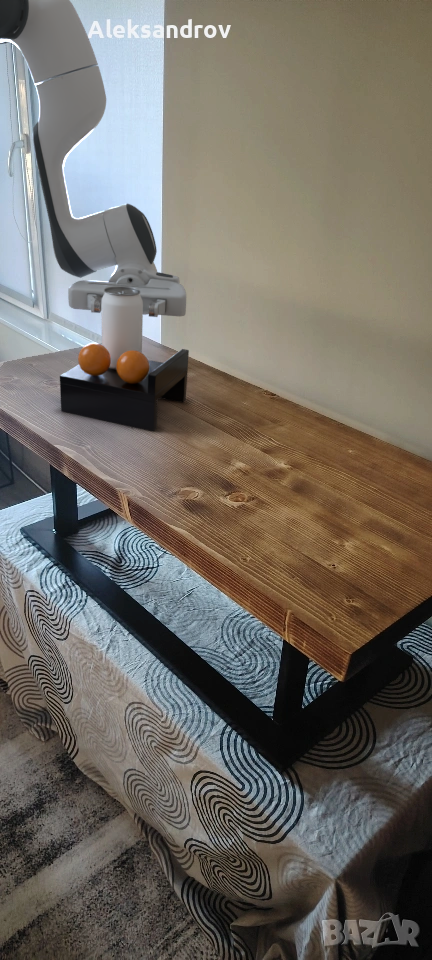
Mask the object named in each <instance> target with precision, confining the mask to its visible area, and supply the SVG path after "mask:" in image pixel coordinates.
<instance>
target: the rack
mask: <svg viewBox="0 0 432 960" xmlns="http://www.w3.org/2000/svg"><path fill="white" fill-rule="evenodd" d="M189 354H190V351H189V349H185V348H182V349H180V350H179V351H178V352H176V353H175V354H173V355H172V356H171V357H170V358H168V359H167V360H166V361H164V362H161V361H157V360H151V359H148V358H147V356H145V355H146V354H144V353H143V352H142V353H141V352H139V351H135V350H130V351H126V352H124V353H123V354H122V355H121V356H120V357H119V359H118V361H117V365H116V368H117V370H114V369H110V368H109V367H110V364H111V356H110V353H109V351H108V350H107V349H106V348H105V347H104V346H102V343H97V342H91V343H87V344H86V345H84V346H83V347H82V348H81V349H80V351H79V352H78V355H77V356H78V357H77V362H78V364H76V365H75V366H74V367H72V368H70V369H69V370H67V371H65V372H63V373H62V374H60V375H59V391H60V392H59V393H60V395H59V396H60V411H61V412H64V413H68V414H72V415H78V416H81V417H85V418H90V419H95V420H100V421H104V422H108V423H114V424H117V425H123V426H128V427H132V428H135V429H140V430H146V431H150V432H155V431H156V430H157V427H158V400H159V399H162V400H167V401H173V402H178V403H181V404H182V403H185V402H186V401H187V388H188V387H187V385H188V370H189V356H190V355H189Z"/></svg>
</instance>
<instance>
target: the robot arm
mask: <svg viewBox="0 0 432 960" xmlns="http://www.w3.org/2000/svg"><path fill="white" fill-rule="evenodd" d="M8 43H12V44H13V45H14V46H16V47H17V48H18V50H19V51H20V53H21V55H22V56H23V58H24V60H25V62H26V65H27V68H28V69H29V72H30V76H31V79H32V82H33V83H34V87H35V88H36V93H37V97H38V104H39V114H38V120H37V122H36V123H35V124H34V125H33V128H32V144H33V150H34V151H33V152H34V156H35V162H36V167H37V171H38V176H39V182H40V185H41V190H42V194H43V200H44V204H45V209H46V213H47V217H48V222H49V228H50V234H51V241H52V249H53V255H54V258H55V260H56V262H57V264H58V267H59V268H60V269H61V270H62V271H64V272H65V273H67V274H69V275H70V276H73V277H76V278H80V279H81V278H82V280H78V281H75V282H74V283H72V284H71V285H70V286H69V287H68V291H67V297H68V298H67V299H68V300H67V301H68V306H69V308H71V309H74V310H85V311H90V313H92V314H93V313H94V314H101V303H102V297H103V295H104V293H105V292H104V289H105V288H108V287H115V286H123V287H131V288H135V289H138V290H140V296H141V298H142V301H143V316H147V315H148V317H150V318H158V316H167V317H185V316H186V312H187V292H186V289H185V286H184V285H183V284H182V283H181V282H180V281H181V280H180V277H179V276H177V275H173V274H169V273H163V272H159V271H158V269H157V267H156V263H155V260H156V257H157V252H158V251H157V243H156V240H155V236H154V232H153V229H152V227H151V225H150V222H149V219H148V218H147V216H146V215H145V214H144V213H143V212H142V210H140V209H139V208H137V207H136V206H135V205H132V204H131V203H128V202H126V203H123V204H120V205H117V206H114V207H110V208H106V209H104V210H102V211H99V212H95V213H93V214H89V215H86V216H82V217H79V218H78V217H75V216H73V213H72V208H71V203H70V198H69V194H68V188H67V184H66V183H67V182H66V178H65V171H64V170H65V169H64V167H65V163H66V160H67V158H68V156H69V155H70V153H71V152H72V151H73V150H74V149H75V148H76V147H77V146H78V145H79V144H80V143H81V142H82V141H84V140H85V139H86V138H87V137H88V136H89V135H90V134H91V133H93V131H94V130H95V129H96V128H97V127H98V126H99V124H100V122H101V121H102V119H103V117H104V114H105V112H106V106H107V95H106V90H105V89H106V88H105V85H104V80H103V77H102V73H101V70H100V67H99V63H98V60H97V58H96V57H97V56H96V55H95V51H94V49H93V47H92V43H91V41H90V39H89V36H88V33H87V31H86V28H85V27H84V25H83V23H82V21H81V18H80V16H79V14H78V12H77V10H76V8H75V5H74V4H73V3H72V2H71V0H0V45H4V44H8ZM113 266H115V269H114V271H113V272H112V274H111V276H110V277H109V279H108V281H102V280H92V279H91V280H89V279H88V280H87V279H85V280H83V278H85V277H87V276H89V275H91V274H95V273H96V272H98V271H100V270H104V269H106V268H110V267H113Z"/></svg>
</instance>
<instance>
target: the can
mask: <svg viewBox="0 0 432 960" xmlns="http://www.w3.org/2000/svg"><path fill="white" fill-rule="evenodd" d="M104 292H105V293H104V295H103V297H102V303H101V312H100V314H101V345H102V346H104V347H105V348H106V349H107V350H108V351H109V353H110V356H111V364H110V367H109V368H110V369H114V370H117V368H116V365H117V361H118V359H119V357H120V356H121V355H122V354H123V353H124V352H126V351H130V350H135V351H139V352H141V353H142V354H143V322H144V321H143V320H144V319H143V318H144V315H143V301H142V298H141V296H140V290H138V289H135V288H131V287H123V286H115V287H108V288H105V289H104Z"/></svg>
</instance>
